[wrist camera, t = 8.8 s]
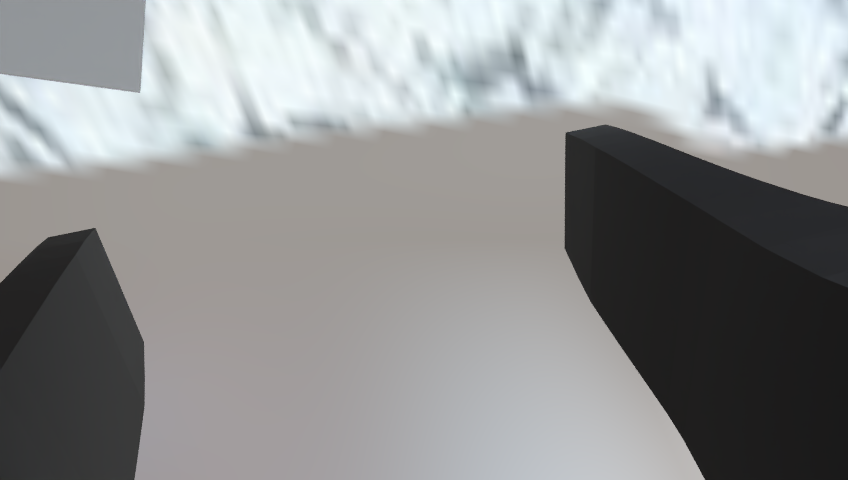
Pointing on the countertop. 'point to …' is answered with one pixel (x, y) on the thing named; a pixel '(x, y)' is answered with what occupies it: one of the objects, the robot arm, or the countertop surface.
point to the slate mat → (74, 41)
